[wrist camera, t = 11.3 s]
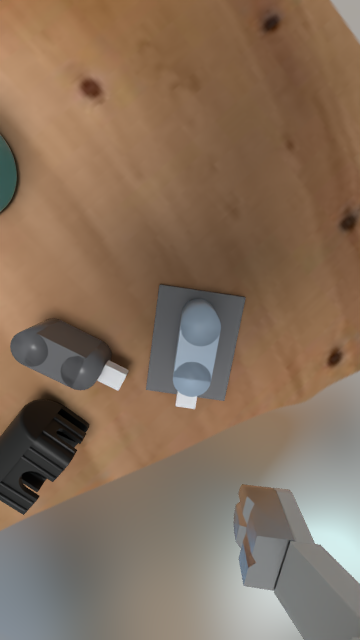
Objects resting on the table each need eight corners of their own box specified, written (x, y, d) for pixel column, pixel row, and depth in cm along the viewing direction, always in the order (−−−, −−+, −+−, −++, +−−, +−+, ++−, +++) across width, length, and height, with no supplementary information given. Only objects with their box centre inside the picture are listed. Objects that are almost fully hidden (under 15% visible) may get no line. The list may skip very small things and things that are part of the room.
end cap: (44, 386, 31) (7, 421, 25) (93, 421, 32) (70, 464, 26) (0, 442, 33) (-46, 488, 26) (47, 473, 34) (15, 526, 27)
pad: (159, 284, 28) (159, 284, 27) (244, 296, 28) (245, 297, 28) (146, 387, 31) (146, 389, 30) (223, 398, 31) (224, 400, 30)
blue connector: (184, 296, 28) (183, 304, 23) (217, 301, 28) (224, 310, 23) (169, 390, 30) (167, 416, 25) (200, 394, 30) (203, 421, 25)
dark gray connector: (34, 339, 30) (5, 356, 25) (46, 312, 29) (18, 324, 24) (122, 382, 31) (110, 406, 26) (135, 357, 30) (125, 377, 25)
